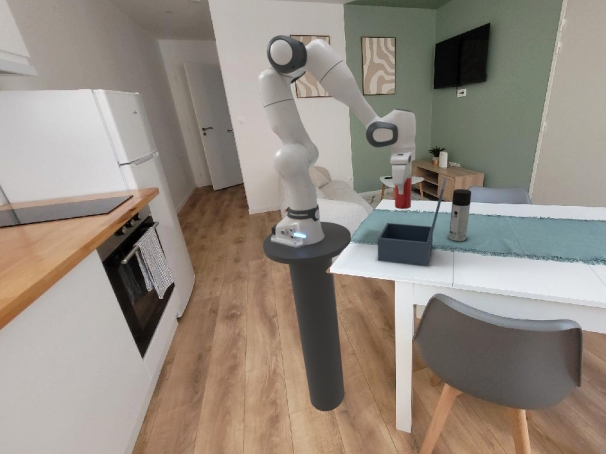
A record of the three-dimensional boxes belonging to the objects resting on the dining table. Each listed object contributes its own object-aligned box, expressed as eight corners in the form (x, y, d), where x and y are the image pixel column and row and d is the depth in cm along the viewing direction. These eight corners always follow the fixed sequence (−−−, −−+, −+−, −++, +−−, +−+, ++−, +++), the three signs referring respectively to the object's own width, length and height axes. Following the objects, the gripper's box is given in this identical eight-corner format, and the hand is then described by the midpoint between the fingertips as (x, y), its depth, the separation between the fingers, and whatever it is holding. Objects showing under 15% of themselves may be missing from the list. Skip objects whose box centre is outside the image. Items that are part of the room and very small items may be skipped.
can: (393, 208, 114) (393, 177, 110) (396, 203, 120) (396, 174, 115) (409, 209, 112) (410, 178, 108) (412, 204, 118) (412, 174, 113)
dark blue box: (378, 260, 104) (377, 238, 101) (387, 243, 117) (387, 222, 114) (427, 266, 99) (429, 243, 96) (431, 247, 112) (433, 226, 108)
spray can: (450, 234, 122) (454, 188, 115) (467, 236, 120) (472, 189, 112) (447, 240, 117) (451, 192, 109) (465, 243, 114) (470, 194, 106)
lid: (441, 188, 88) (444, 189, 87) (444, 177, 100) (446, 178, 100) (427, 241, 96) (430, 242, 95) (432, 225, 108) (434, 225, 108)
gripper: (400, 151, 118) (400, 184, 124) (389, 160, 101) (389, 198, 106) (415, 151, 116) (415, 184, 122) (407, 160, 99) (406, 199, 104)
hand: (403, 191), depth 114 cm, fingers closed on can, 6 cm apart
